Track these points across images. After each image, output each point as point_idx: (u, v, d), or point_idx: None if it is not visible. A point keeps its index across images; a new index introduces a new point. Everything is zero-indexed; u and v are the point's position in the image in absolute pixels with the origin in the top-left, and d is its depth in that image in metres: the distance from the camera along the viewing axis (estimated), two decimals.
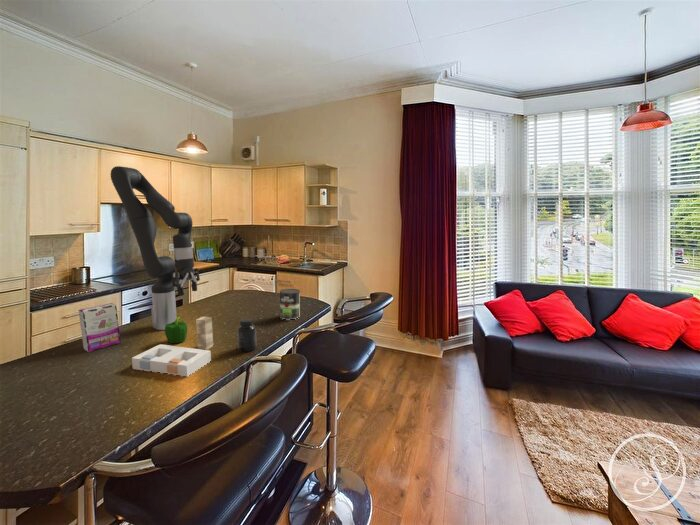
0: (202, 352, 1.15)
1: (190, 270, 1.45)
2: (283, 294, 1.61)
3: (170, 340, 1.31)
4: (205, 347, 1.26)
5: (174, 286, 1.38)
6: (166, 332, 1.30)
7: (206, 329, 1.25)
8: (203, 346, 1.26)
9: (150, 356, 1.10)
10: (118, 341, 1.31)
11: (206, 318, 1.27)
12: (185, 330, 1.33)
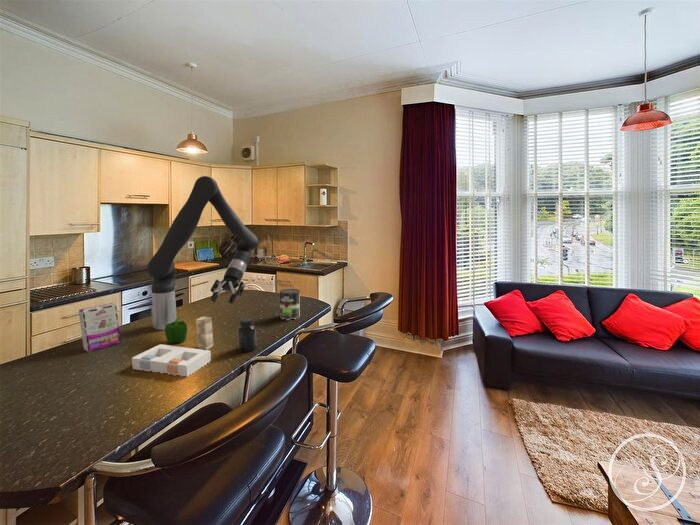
0: (202, 352, 1.15)
1: None
2: (283, 294, 1.61)
3: (170, 340, 1.31)
4: (205, 347, 1.26)
5: (239, 293, 1.38)
6: (166, 332, 1.30)
7: (206, 329, 1.25)
8: (203, 346, 1.26)
9: (150, 356, 1.10)
10: (118, 341, 1.31)
11: (206, 318, 1.27)
12: (185, 330, 1.33)
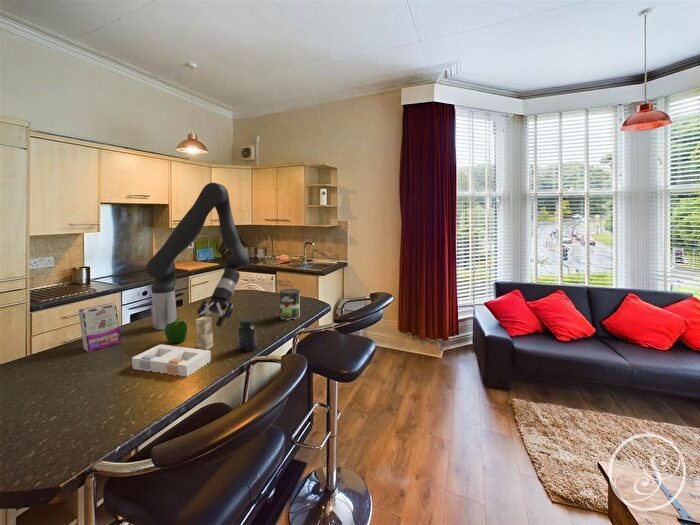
0: (202, 352, 1.15)
1: None
2: (283, 294, 1.61)
3: (170, 340, 1.31)
4: (205, 347, 1.26)
5: (227, 315, 1.30)
6: (166, 332, 1.30)
7: (206, 329, 1.25)
8: (203, 346, 1.26)
9: (150, 356, 1.10)
10: (118, 341, 1.31)
11: (206, 318, 1.27)
12: (185, 330, 1.33)
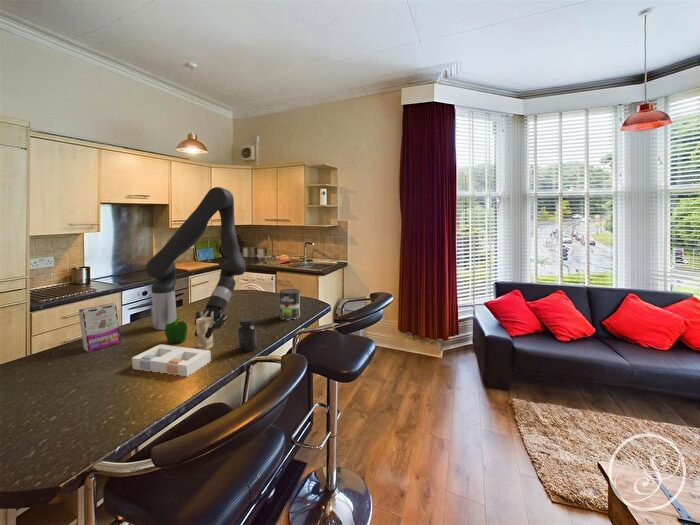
0: (202, 352, 1.15)
1: None
2: (283, 294, 1.61)
3: (170, 340, 1.31)
4: (205, 347, 1.26)
5: (215, 327, 1.27)
6: (166, 332, 1.30)
7: (206, 328, 1.25)
8: (203, 346, 1.26)
9: (150, 356, 1.10)
10: (118, 341, 1.31)
11: (206, 318, 1.27)
12: (185, 330, 1.33)
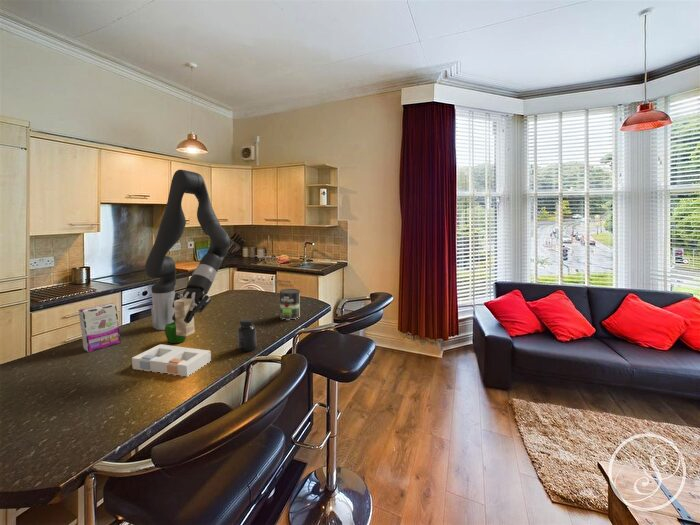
0: (202, 352, 1.15)
1: None
2: (283, 294, 1.61)
3: (170, 340, 1.31)
4: (185, 333, 1.08)
5: (197, 310, 1.09)
6: (166, 332, 1.30)
7: (185, 311, 1.07)
8: (182, 332, 1.09)
9: (150, 356, 1.10)
10: (118, 341, 1.31)
11: (186, 299, 1.09)
12: None
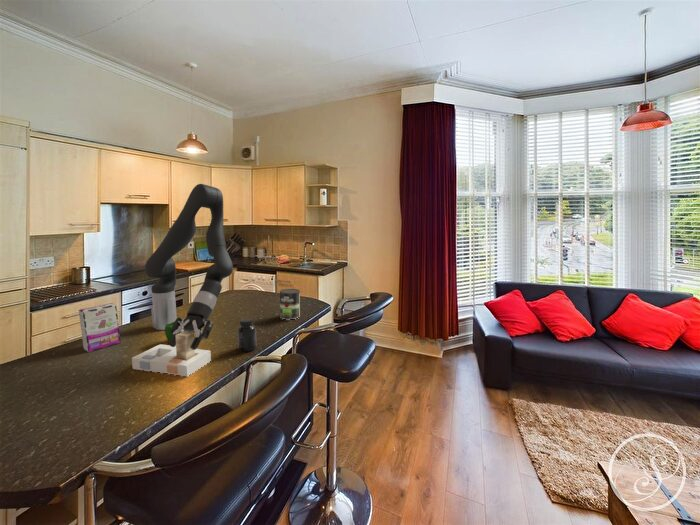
0: (202, 352, 1.15)
1: None
2: (283, 294, 1.61)
3: None
4: None
5: (204, 336, 1.10)
6: (166, 332, 1.30)
7: (186, 345, 1.09)
8: None
9: (150, 356, 1.10)
10: (118, 341, 1.31)
11: (187, 333, 1.11)
12: None
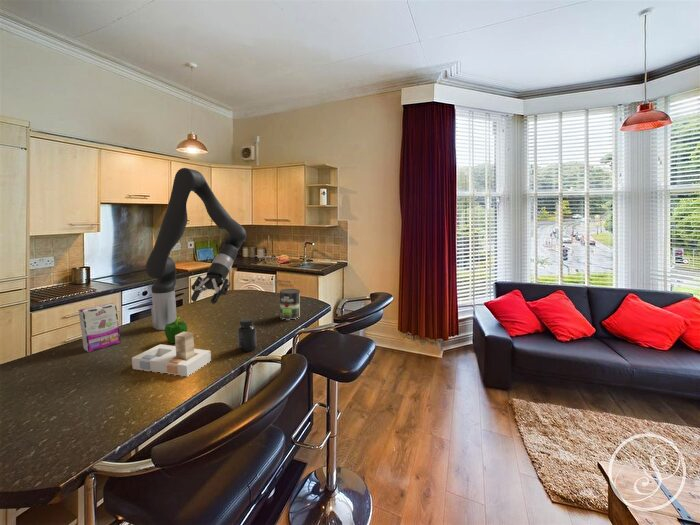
0: (202, 352, 1.15)
1: None
2: (283, 294, 1.61)
3: (170, 340, 1.31)
4: None
5: (222, 292, 1.22)
6: (166, 332, 1.30)
7: (186, 346, 1.09)
8: None
9: (150, 356, 1.10)
10: (118, 341, 1.31)
11: (187, 334, 1.11)
12: (185, 330, 1.33)
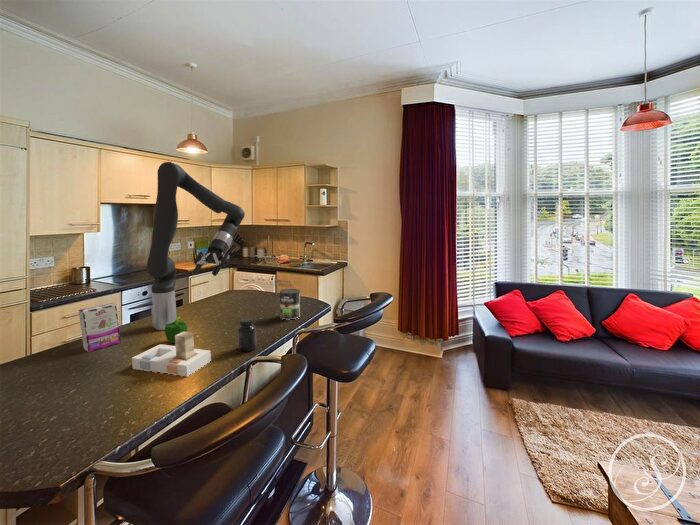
0: (202, 352, 1.15)
1: None
2: (283, 294, 1.61)
3: (170, 340, 1.31)
4: None
5: (223, 265, 1.31)
6: (166, 332, 1.30)
7: (186, 346, 1.09)
8: None
9: (150, 356, 1.10)
10: (118, 341, 1.31)
11: (187, 334, 1.11)
12: (185, 330, 1.33)
